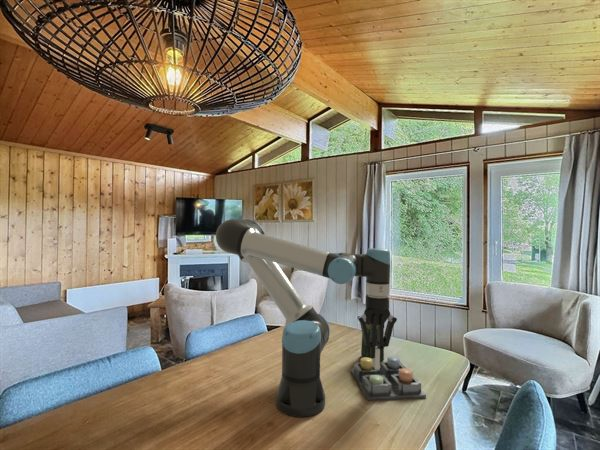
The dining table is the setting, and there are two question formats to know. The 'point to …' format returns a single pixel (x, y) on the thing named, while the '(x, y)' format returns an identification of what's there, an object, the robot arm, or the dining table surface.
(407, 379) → the terracotta button
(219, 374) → the dining table surface
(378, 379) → the sage button
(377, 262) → the robot arm
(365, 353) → the coffee jar
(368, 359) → the mustard button
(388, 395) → the button panel
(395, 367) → the slate button
